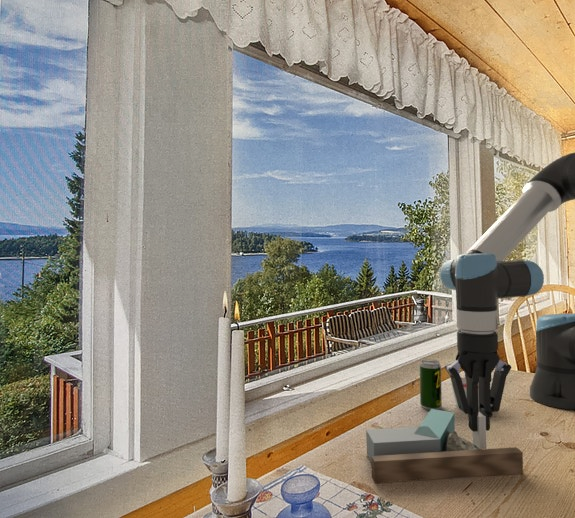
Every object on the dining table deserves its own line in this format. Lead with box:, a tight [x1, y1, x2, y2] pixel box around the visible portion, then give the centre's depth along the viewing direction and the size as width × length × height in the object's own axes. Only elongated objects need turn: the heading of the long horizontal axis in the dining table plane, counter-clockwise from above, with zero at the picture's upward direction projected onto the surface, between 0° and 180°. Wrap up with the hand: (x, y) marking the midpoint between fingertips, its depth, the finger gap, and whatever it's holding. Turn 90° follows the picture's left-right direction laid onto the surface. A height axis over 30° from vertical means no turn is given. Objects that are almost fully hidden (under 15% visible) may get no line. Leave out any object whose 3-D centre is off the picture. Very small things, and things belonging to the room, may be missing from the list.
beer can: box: [419, 358, 443, 411], centre depth 113 cm, size 5×5×12 cm
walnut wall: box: [371, 446, 524, 484], centre depth 80 cm, size 28×2×4 cm, turn 93°
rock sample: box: [445, 430, 480, 452], centre depth 86 cm, size 10×8×9 cm
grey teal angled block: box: [365, 409, 456, 464], centre depth 91 cm, size 21×15×5 cm
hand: (479, 445), depth 87 cm, fingers closed
